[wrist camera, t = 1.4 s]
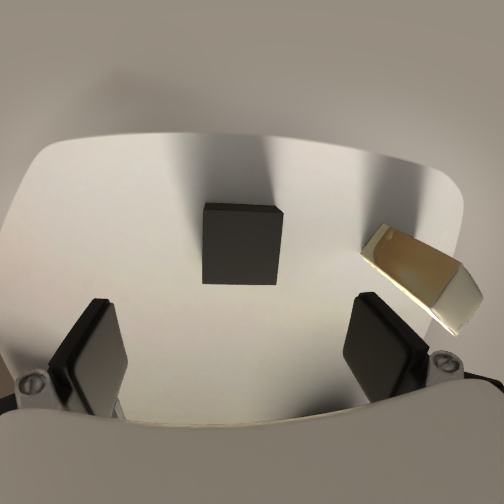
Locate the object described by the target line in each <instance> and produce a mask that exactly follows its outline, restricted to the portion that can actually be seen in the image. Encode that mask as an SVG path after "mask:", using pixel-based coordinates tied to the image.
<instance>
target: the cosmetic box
mask: <svg viewBox="0 0 504 504" xmlns="http://www.w3.org/2000/svg"><path fill="white" fill-rule="evenodd" d="M360 255H361V256H362V257H363V258H364V259H365V260H366V261H367V262H368V263H369V264H370V265H372V266H373V267H374V268H375V269H376V270H377V271H379V272H380V273H381V274H382V275H383V276H384V277H386V278H387V279H388V280H390V281H391V282H392V283H393V284H395V285H396V286H397V287H398V288H399V289H401V290H402V291H403V292H404V293H406V294H407V295H408V296H409V297H410V298H411V299H413V300H414V301H415V302H416V303H417V304H419V305H420V306H421V307H422V308H423V309H424V310H425V311H427V312H428V313H429V314H430V315H431V316H432V317H433V318H435V319H436V320H437V321H438V322H439V323H440V324H441V325H443V326H444V327H445V328H446V329H447V330H448V331H450V333H452V334H453V335H454V336H455V337H457V336H458V334H459V333H460V332H461V330H462V329H463V328H464V326H465V325H466V324H467V323H468V321H469V320H470V318H471V317H472V315H473V314H474V312H475V311H476V310H477V308H478V307H479V305H480V303H481V302H482V301H483V295H482V293H481V291H480V289H479V287H478V285H477V284H476V282H475V281H474V279H473V278H472V276H471V274H470V273H469V272H468V270H467V269H466V267H465V266H464V265H463V264H462V263H461V262H459V261H457V260H455V259H454V258H452V257H450V256H448V255H446V254H444V253H442V252H441V251H439V250H437V249H435V248H433V247H431V246H429V245H427V244H425V243H423V242H421V241H419V240H417V239H415V238H413V237H411V236H409V235H407V234H405V233H402V232H400V231H398V230H396V229H394V228H392V227H390V226H388V225H386V224H382V225H381V226H380V228H379V229H378V230H377V231H376V233H375V234H374V235H373V237H372V238H371V239H370V241H369V242H368V243H367V245H366V246H365V248H364V249H363V250H362V252H361V253H360Z"/></svg>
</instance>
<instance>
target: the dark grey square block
mask: <svg viewBox="0 0 504 504" xmlns="http://www.w3.org/2000/svg"><path fill="white" fill-rule="evenodd" d="M283 215H284V213H283V212H282V211H281V210H280V209H278V208H277V207H276V206H272V205H253V204H232V203H205V207H204V211H203V258H202V284H228V285H276V282H277V273H278V264H279V255H280V245H281V236H282V226H283Z"/></svg>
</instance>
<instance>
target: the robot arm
mask: <svg viewBox="0 0 504 504" xmlns="http://www.w3.org/2000/svg"><path fill="white" fill-rule="evenodd" d="M428 350H429V346H428V345H427V344H426V343H425V342H424V341H423V340H422V339H421V338H420V337H419V336H418V335H417V334H416V333H415V332H414V331H413V329H412V328H411V327H410V326H409V325H408V324H407V323H406V322H404V321H403V320H402V319H401V318H400V317H399V316H398V315H397V314H396V313H395V312H394V311H393V310H392V309H391V308H390V307H389V306H388V305H387V304H386V303H385V302H384V301H383V300H382V299H381V298H380V297H379V296H378V295H377V294H376V293H374V292H364V293H360V294H359V295H358V297H356V298H355V300H354V304H353V309H352V314H351V318H350V323H349V327H348V331H347V335H346V339H345V344H344V347H343V357H344V359H345V361H346V362H347V364H348V366H349V368H350V369H351V371H352V373H353V374H354V376H355V378H356V379H357V381H358V383H359V385H360V386H361V388H362V390H363V391H364V393H365V395H366V397H367V398H368V400H369V402H370V404H366V405H362V406H358V407H354V408H349V409H345V410H340V411H335V412H330V413H325V414H319V415H313V416H307V417H300V418H293V419H285V420H277V421H267V422H255V423H240V424H206V425H198V424H166V423H151V422H140V421H131V420H121V419H113V418H111V415H112V412H113V409H114V405H115V402H116V399H117V396H118V393H119V390H120V386H121V383H122V380H123V377H124V375H125V372H126V369H127V365H128V359H127V355H126V352H125V348H124V344H123V341H122V337H121V333H120V329H119V325H118V320H117V316H116V312H115V307H114V304H113V303H110V301H109V300H108V299H97V298H94V299H93V300H92V301H91V303H90V304H89V305H88V307H87V308H86V309H85V311H84V312H83V314H82V315H81V316H80V318H79V319H78V320H77V322H76V323H75V325H74V326H73V327H72V329H71V330H70V332H69V333H68V335H67V336H66V338H65V339H64V340H63V342H62V343H61V345H60V346H59V348H58V349H57V351H56V352H55V354H54V355H53V357H52V359H51V360H50V362H49V363H48V365H49V368H48V370H47V371H45V370H42V369H37V368H34V369H29V370H27V371H25V372H23V373H22V374H20V375H19V377H18V378H17V379H16V381H15V384H14V390H15V393H14V394H11V395H9V396H6V397H4V398H1V399H0V504H504V386H503V384H502V383H501V382H500V381H498V380H494V379H491V378H487V377H483V376H479V375H475V374H471V373H467V372H464V368H463V363H462V361H461V360H460V358H459V357H457V356H456V355H454V354H453V353H451V352H448V351H442V350H440V351H435V352H433V353H432V354H431V355H430V356H429V355H428V354H427V352H428Z"/></svg>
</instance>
